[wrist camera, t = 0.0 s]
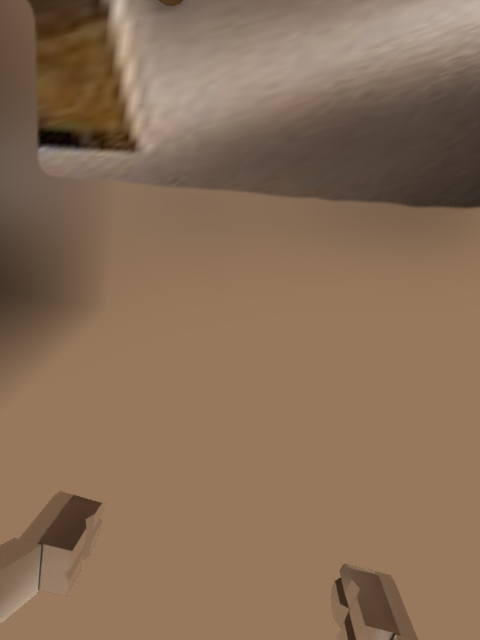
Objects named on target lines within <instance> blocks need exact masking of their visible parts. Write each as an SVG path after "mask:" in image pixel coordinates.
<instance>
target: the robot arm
mask: <svg viewBox="0 0 480 640" xmlns="http://www.w3.org/2000/svg"><path fill="white" fill-rule="evenodd" d="M103 512H104V503H101V502H97V501H93V500H90V499H87V498H83V497H80V496H76V495H73V494H69V493H65V492H61V491H59V492H58V493H57V494H55V495H54V497H53V498H52V499H51V500H50V501H49V503H48V504H47V505H46V506H45V508H44V509H43V510H42V511H41V512H40V514H39V515H38V516H37V517H36V519H35V520H34V521H33V522H32V523H31V525H30V526H29V527H28V528H27V530H26V531H25V532H24V533H23V534H22V536H21V537H20V538H19V539H17V538H13V539H11V540H10V541H7V542H6V543H4V544H2V545H1V546H0V623H1V622H3V621H4V620H5V619H6V618H8V616H10V615H11V614H12V613H14V612H15V611H16V610H17V609H18V608H20V607H21V606H22V605H23V604H25V602H27V601H28V600H29V599H30V598H32V597H33V596H34V595H35V594H36V593H38V590H39V591H44V592H49V593H53V594H58V595H63V596H68V594H69V592H70V590H71V588H72V586H73V585H74V583H75V581H76V579H77V577H78V575H79V574H80V572H81V566H82V561H83V560H84V559H86V558H87V557H88V556H89V555H90V554H91V552H92V549H93V548H94V546H95V544H96V541H97V539H98V536H99V533H100V530H101V526H102V520H101V519H100V517H101V515H102V513H103ZM340 575H341V578H339V579H337V580H335V582H334V584H333V587H332V594H331V606H332V612H333V617H334V619H335V621H336V622H337V624H338V625H339V627H340V630H339V633H338V636H337V637H338V640H418V638H417V636H416V633H415V631H414V628H413V626H412V624H411V621H410V618H409V616H408V613H407V611H406V609H405V606H404V604H403V601H402V599H401V596H400V594H399V591H398V589H397V586H396V584H395V582H394V579H393V578H392V577H391V575H388V574H384V573H380V572H376V571H373V570H370V569H365V568H361V567H357V566H353V565H348V564H344V565H342V567H341V569H340Z"/></svg>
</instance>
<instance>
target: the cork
mask: <svg viewBox="0 0 480 640" xmlns="http://www.w3.org/2000/svg"><path fill="white" fill-rule="evenodd" d="M159 1H160V2H162V3H164V4H165V5H169V6H175V5H177V4H180V3H181V1H182V0H159Z"/></svg>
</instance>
